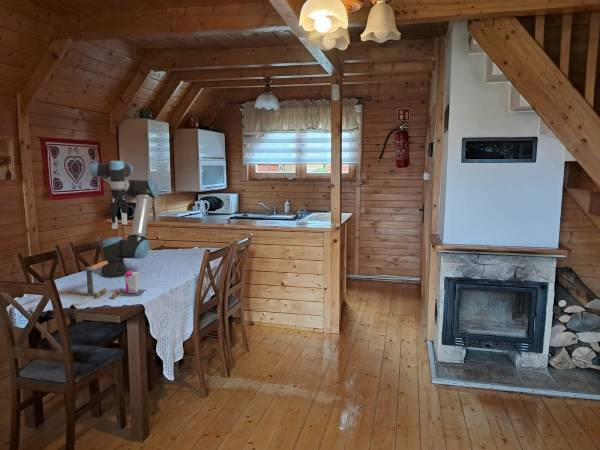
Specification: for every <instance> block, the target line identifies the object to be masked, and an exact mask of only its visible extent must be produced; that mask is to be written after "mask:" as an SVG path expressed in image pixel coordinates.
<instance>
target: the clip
mask: <svg viewBox="0 0 600 450" xmlns="http://www.w3.org/2000/svg"><path fill="white" fill-rule="evenodd" d="M106 264H108V261H104V260H102V261H101V262H98V263H95V264H93V265H91V266H85V272H87V271H92V272H93V270H96V269H99V268H102V267H103V265H106Z"/></svg>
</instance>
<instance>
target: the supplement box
mask: <svg viewBox="0 0 600 450" xmlns="http://www.w3.org/2000/svg"><path fill="white" fill-rule="evenodd" d="M124 276H125V279H124V280H125V291H126V294H137V293H138V292H139V291H140V290H141V287H140V286H141V284H140V271H139V270H129V271H128V270H127V273H125V275H124Z"/></svg>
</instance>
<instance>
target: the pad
mask: <svg viewBox="0 0 600 450" xmlns="http://www.w3.org/2000/svg"><path fill="white" fill-rule="evenodd" d="M144 291H145V292H146V289H140V291H139V292H138V293H137V294H126V290H124V291H123V292H122V293H121V294H120V295H119V296H120V297H132V296H139V297H140V296H141V295H143V293H145V292H144Z"/></svg>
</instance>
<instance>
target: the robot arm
mask: <svg viewBox="0 0 600 450" xmlns="http://www.w3.org/2000/svg"><path fill="white" fill-rule="evenodd" d="M133 171H134V168H133V167H132V165H131V164H130V163H127V162H126V163H125V162H124V161H123V160H110V162H109V163H107V162H94V163H91V164H90V167H89V173H90V175H91V176H93V177H96V178H97V177H100V178H101V179H102V180H104V181H105V182H107V183H108V184H109V185H110V195H111V197H113V198H111V199H110V208H109V214H108V215H109V218H111V229H113V230H115V229H116V230H117V229H118V217H117V215H118V211H119V208H120V211H121V224H122V225H128V218H127V217H128V213H129V207H128V203H127V199H126V197H129V198H134V200H136V202H135V208H134V209H135V210H134V215H133V219H132V220H133V221H132V225H131V232H130V234H129V235H127V239H124V238H123V236H113V237H109V238H105V239H103V241H102V256H103V257H102V258H103V261H108V264H106V265H103V266H101V271H100V276H102V277H103V278H119V277H123V276H125V273H127V272H128V268H127V266H126V264H125V261H124V260H125V259H133V260H134V259H135V260H138V259H140V260H141V259H144V258H146V257H147V256H148V254H149V251H150V242H149V240H148V238H147V236H146V233H147V227H148V223H149V222H148V220H149V215H150V209H151V208H150V207H151V204H152V203H153V202H154V199H157V198H158V196H159V192H158V185H157V182H156V181H155V180H150V179H147V180H145V179H143V180H141V179H126V177H127V178H128V177H129V176H131V175H132V174H133Z"/></svg>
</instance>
